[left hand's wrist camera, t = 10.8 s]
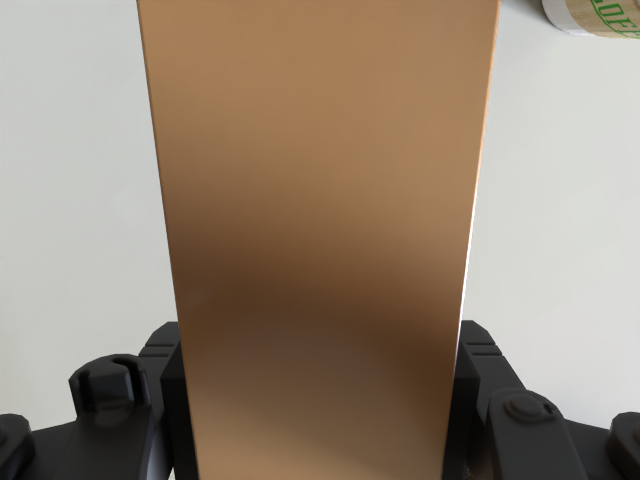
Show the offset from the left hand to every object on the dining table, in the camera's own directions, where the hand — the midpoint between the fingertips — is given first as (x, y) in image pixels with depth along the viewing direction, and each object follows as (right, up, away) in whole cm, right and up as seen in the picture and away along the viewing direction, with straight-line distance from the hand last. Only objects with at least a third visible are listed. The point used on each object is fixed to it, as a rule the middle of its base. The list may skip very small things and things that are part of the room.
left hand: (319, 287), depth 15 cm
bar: (0, -22, +9) cm, 24 cm away
